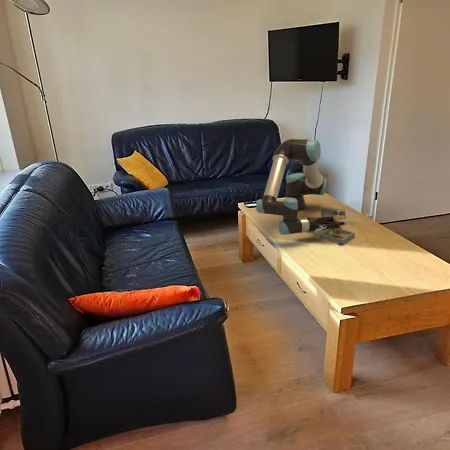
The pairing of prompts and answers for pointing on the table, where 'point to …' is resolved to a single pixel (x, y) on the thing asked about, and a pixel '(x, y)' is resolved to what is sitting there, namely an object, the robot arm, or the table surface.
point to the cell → (337, 217)
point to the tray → (339, 241)
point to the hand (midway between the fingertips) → (346, 220)
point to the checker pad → (317, 231)
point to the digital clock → (330, 211)
